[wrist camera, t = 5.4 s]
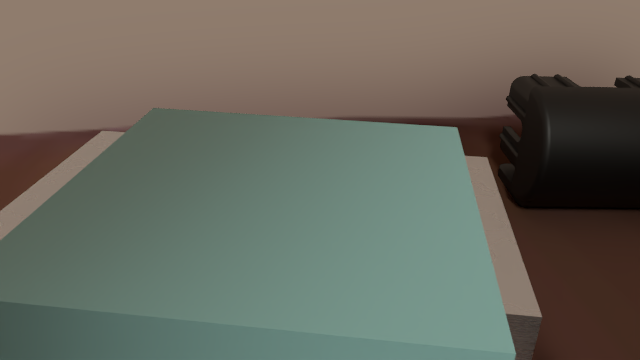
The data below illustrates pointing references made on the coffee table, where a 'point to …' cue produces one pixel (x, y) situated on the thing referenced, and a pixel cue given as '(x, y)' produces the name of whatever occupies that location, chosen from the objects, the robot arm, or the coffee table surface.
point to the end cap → (573, 144)
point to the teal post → (257, 247)
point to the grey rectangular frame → (492, 212)
